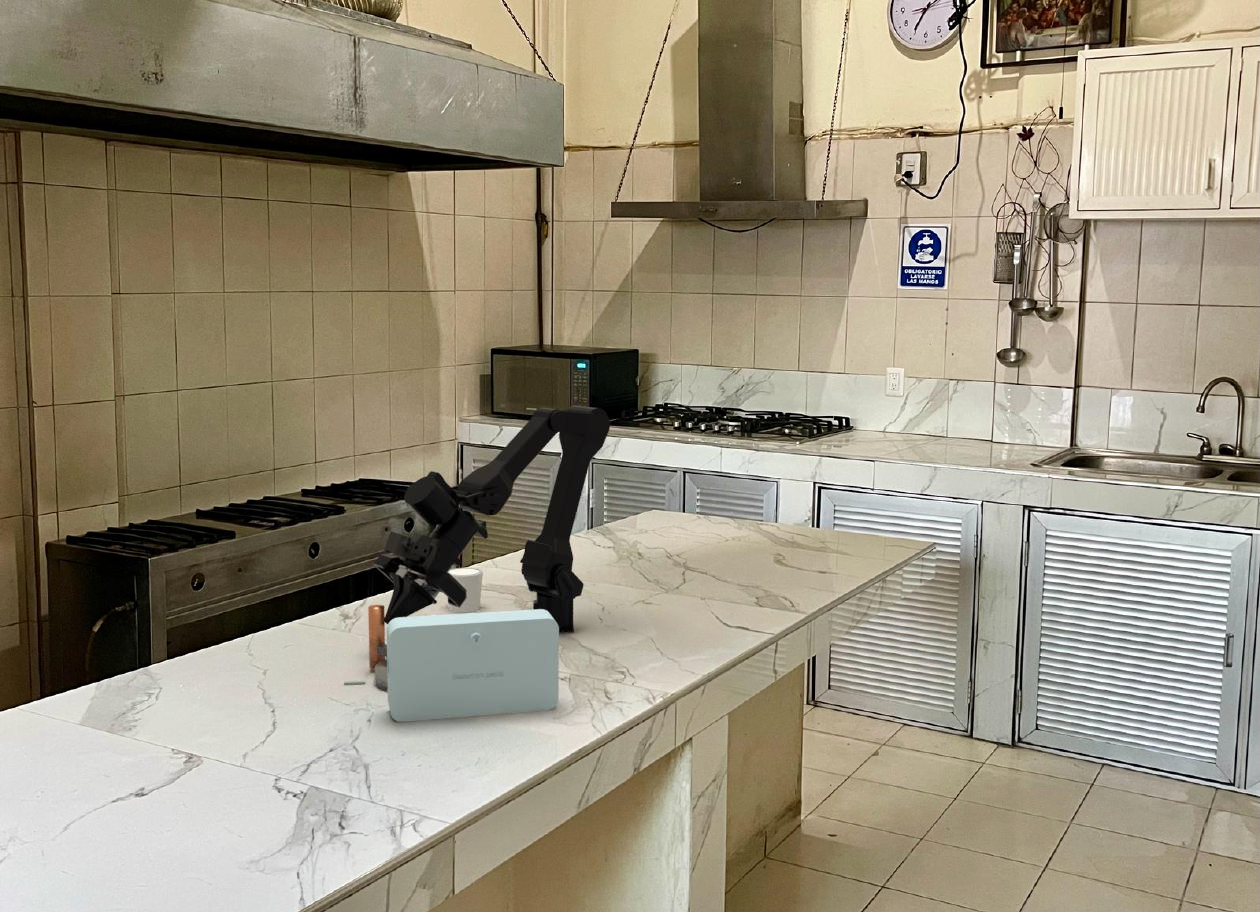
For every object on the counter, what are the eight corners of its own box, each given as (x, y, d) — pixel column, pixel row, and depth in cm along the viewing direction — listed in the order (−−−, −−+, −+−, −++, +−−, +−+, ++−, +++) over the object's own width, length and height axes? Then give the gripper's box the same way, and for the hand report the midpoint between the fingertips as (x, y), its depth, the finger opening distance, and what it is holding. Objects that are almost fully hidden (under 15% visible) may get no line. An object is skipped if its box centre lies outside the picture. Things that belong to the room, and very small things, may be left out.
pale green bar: (365, 682, 180) (365, 680, 180) (364, 684, 180) (364, 682, 180) (344, 683, 180) (344, 681, 180) (344, 684, 179) (344, 682, 179)
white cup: (476, 614, 218) (475, 576, 217) (439, 612, 219) (439, 574, 218) (487, 605, 225) (487, 568, 224) (452, 602, 226) (452, 566, 225)
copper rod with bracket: (406, 673, 183) (405, 612, 182) (393, 676, 182) (392, 615, 180) (379, 663, 188) (378, 603, 186) (366, 666, 186) (365, 606, 185)
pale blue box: (390, 725, 163) (389, 629, 162) (387, 710, 169) (386, 618, 167) (559, 711, 169) (560, 619, 168) (551, 697, 175) (551, 608, 173)
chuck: (444, 670, 186) (444, 626, 185) (441, 692, 177) (441, 645, 176) (378, 671, 185) (377, 627, 184) (371, 693, 175) (371, 647, 174)
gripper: (383, 503, 193) (322, 581, 187) (449, 521, 180) (386, 606, 174) (425, 545, 200) (368, 622, 194) (492, 565, 186) (433, 648, 180)
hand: (387, 623), depth 185 cm, fingers closed
